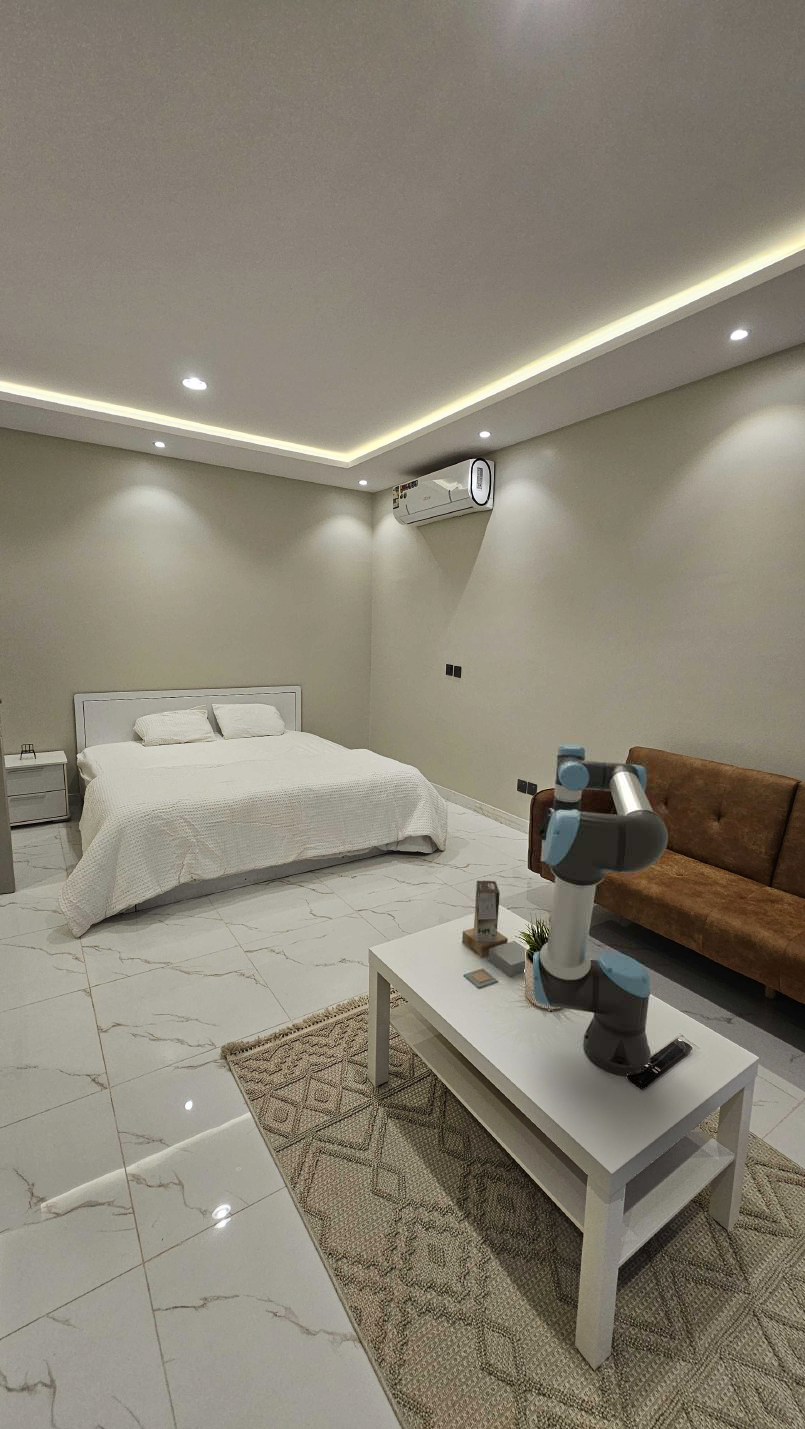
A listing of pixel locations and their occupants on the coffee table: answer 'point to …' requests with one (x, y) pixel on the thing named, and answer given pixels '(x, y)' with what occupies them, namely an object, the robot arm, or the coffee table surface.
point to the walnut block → (481, 943)
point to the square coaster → (480, 978)
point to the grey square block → (508, 958)
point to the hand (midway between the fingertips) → (561, 868)
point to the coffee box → (486, 911)
